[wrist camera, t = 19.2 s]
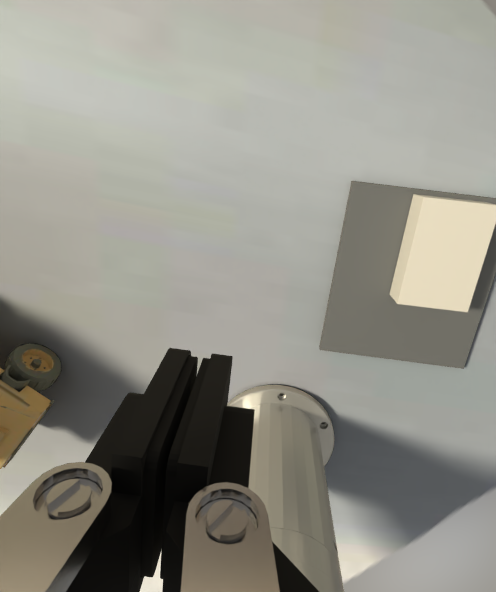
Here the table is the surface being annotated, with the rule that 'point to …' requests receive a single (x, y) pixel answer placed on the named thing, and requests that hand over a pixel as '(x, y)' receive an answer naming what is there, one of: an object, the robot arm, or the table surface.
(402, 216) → the mat
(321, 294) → the table surface
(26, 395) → the toy car
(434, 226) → the card box
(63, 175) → the table surface
